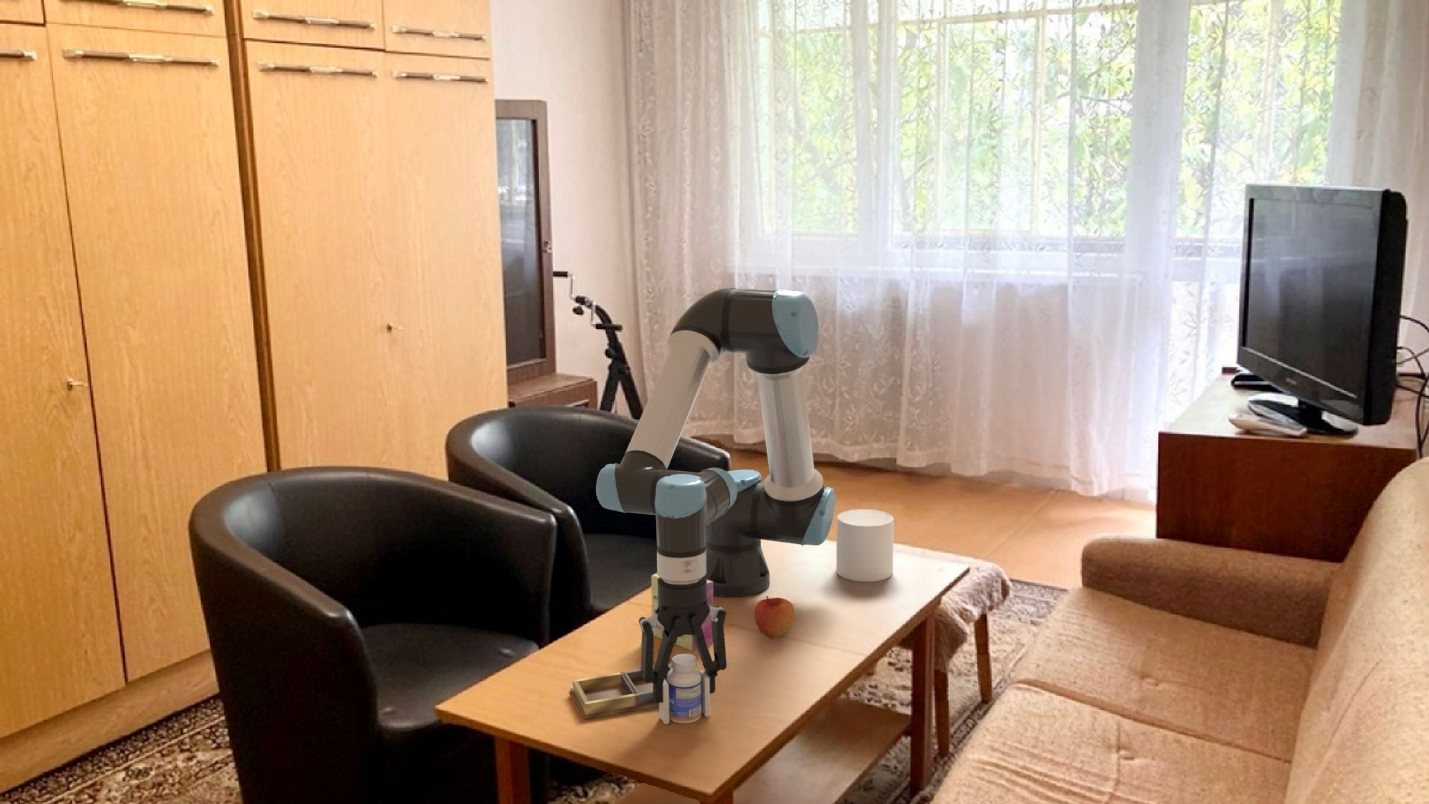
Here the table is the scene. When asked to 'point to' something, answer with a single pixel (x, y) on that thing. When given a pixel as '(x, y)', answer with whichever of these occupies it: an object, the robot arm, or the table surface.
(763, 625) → the apple
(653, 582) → the box
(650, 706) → the two-compartment tray
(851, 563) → the cup
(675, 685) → the pill bottle
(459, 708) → the table surface
